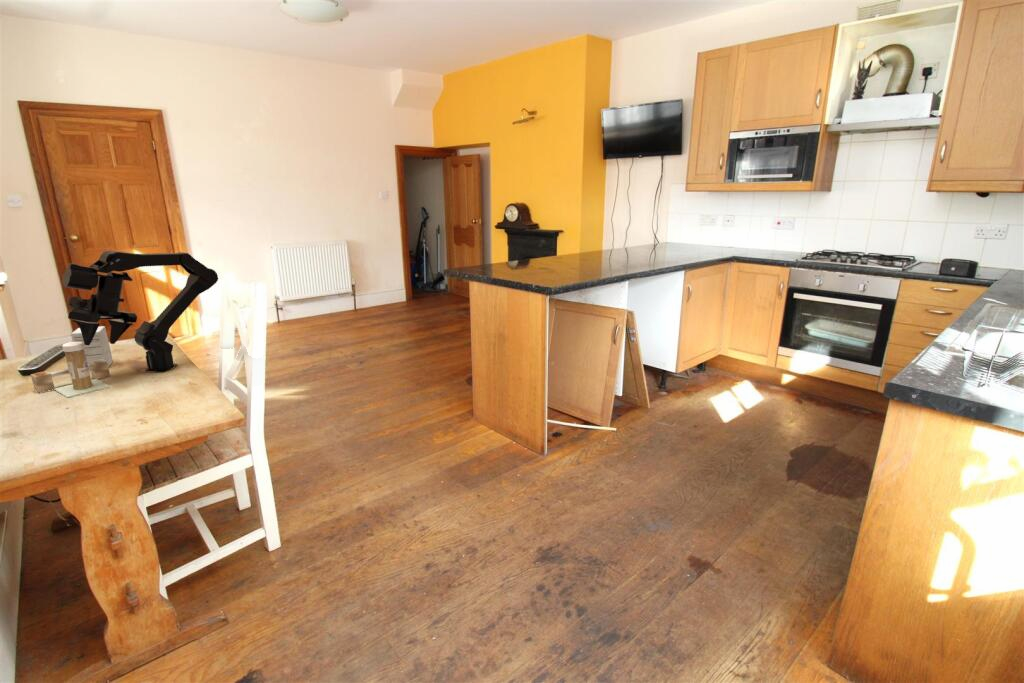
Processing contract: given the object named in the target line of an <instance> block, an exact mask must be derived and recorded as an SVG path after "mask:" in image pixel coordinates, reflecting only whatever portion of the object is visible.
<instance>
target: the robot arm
mask: <svg viewBox="0 0 1024 683" xmlns="http://www.w3.org/2000/svg"><path fill="white" fill-rule="evenodd" d="M67 264H68V266H67V267H66V269H65V271H64V273H63V274H62V286H63V287H64V288H67V289H68V288H69V289H77V290H85V291H92V290H93V289H95V288H96V292H95V293H92V294H90V298H89V299H87V298H84V299H83V298H82V297H81V296H70V298H69V301H68V306H69V308H71V309H70V310H69V311H68V315H67V318H68V319H69V320H71V321H72V322H73V323H75V324H76V325H77V326H78V328H80V330H81V333H82V336H83V340H84V344H85V345H90V343H91V342H92V340H93V337H94V335H95V333H96V331H97V329H98V327H99V326H100V323H99V322H100V320H107V321H108V323H109V325H110V334H109V335H110V336H109V345H110V344H111V345H115V344H116V342H118V340H120V338H121V337H122V336H123V334H124V333H125V332H126V331H127V330H129V328H130V327H131V326H133V325H134V323H137V320H138V315H137V313H135V312H130V311H126V310H119V309H120V303H123V302H125V301H124V300H125V298H123V297H121V296H122V291H123V285H124V282H125V281H128V282H133V278H132V277H131V276H130V275H129V274H128V272H127V271H130V270H134V269H135V270H136V269H138V268H143V267H161V266H163V267H165V266H180V267H181V268H182V269H183V270H184V271H185V272H186V273H187V274H189V275H188V277H187V279H186V283H185V285H184V287H183V288H182V289H181V291H179V293H178V294H177V295H176V296H175V297H174V298H173V299H172V301H170V303H169V304H168V305H167V306H166V307H165V308H164V309H163V311H162V312H161V313H160V314H159V315H158V316H157V317H156V319H154V320H152V321H151V322H149V321H146V320H144V321H143V322H142V324H141V325H140V326H139V327H138V328H137V329H135V330H134V331H135V334H134V337H133V338H134V342H135V343H136V345H138V346H140V347H142V348H143V349H144V351H145V361H146V366H147V368H146V369H144V370H145V372H148V371H155V372H156V373H165V371H166V372H168V371H169V369H170V370H172V369H174V368H176V367H178V364H177V363H174V358H173V348H174V345H173V344H172V343H170V342H168V341H166V339H168V335H169V332H170V329H171V327H172V326H173V325H174V323H176V322H177V320H178V319H179V318H180V317H181V315H182V314H184V312H185V311H186V310H187V309H188V308H189V306H190V305H191V304H192V303H193V302H194V301H195V300H196V298H198V296H199V295H201V294H202V293H204V292H206V291H208V290H209V289H211V288H212V287H213V286H214V285H216V284H217V283H218V281H219V277H218V273H217V271H216V270H214V269H213V268H209V267H208V266H206V265H205V264H203V263H201V262H200V261H199V260H197V259H196V258H194V257H193V256H192V255H191V254H190V253H187V252H182V251H179V252H162V253H161V252H158V253H135V252H126V251H117V250H105V251H103V252H102V253H101V254H100V256H99V259H98V260H96V261H95V262H93V263H92V264H91V265H90V266H85V265H84V266H83V265H78V264H75V263H71V262H70V263H67ZM118 272H121V273H118ZM173 367H174V368H173ZM171 368H172V369H171ZM167 370H168V371H167ZM155 372H154V373H155Z"/></svg>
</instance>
